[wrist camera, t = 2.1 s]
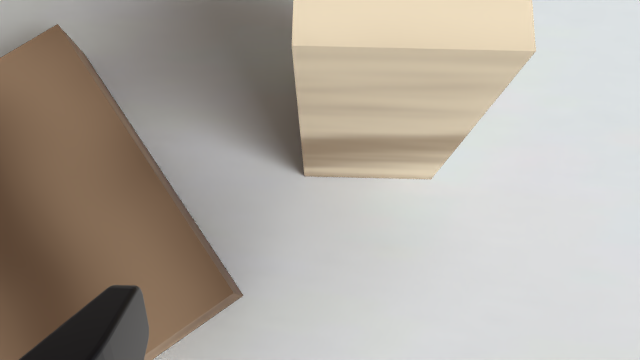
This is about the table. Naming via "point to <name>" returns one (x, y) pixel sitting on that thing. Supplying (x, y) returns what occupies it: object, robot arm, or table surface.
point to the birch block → (400, 79)
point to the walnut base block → (89, 208)
